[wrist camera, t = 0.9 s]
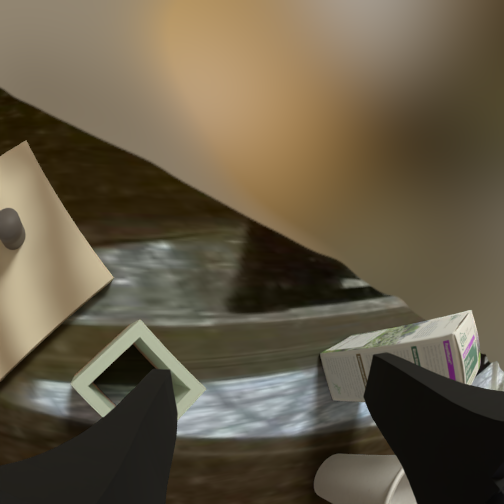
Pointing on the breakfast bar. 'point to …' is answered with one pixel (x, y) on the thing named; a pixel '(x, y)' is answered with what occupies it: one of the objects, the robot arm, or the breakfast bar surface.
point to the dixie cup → (363, 480)
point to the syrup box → (405, 353)
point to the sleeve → (154, 352)
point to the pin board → (38, 259)
